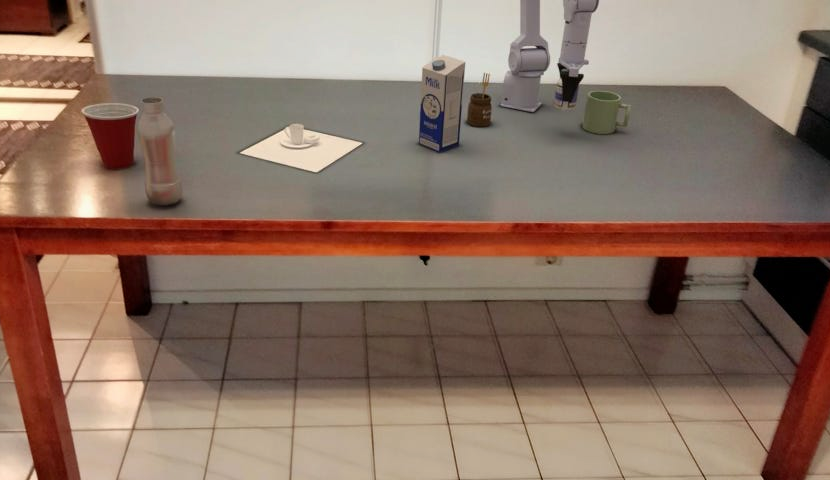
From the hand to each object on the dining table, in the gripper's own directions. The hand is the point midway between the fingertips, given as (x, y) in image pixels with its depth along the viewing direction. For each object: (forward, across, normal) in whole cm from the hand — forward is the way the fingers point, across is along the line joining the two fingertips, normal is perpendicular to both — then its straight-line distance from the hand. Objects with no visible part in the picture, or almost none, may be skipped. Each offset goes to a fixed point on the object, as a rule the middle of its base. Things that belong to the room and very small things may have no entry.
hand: (565, 97), depth 184 cm
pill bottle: (+3, 0, 0) cm, 3 cm away
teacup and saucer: (+10, -22, +60) cm, 65 cm away
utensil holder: (+10, +3, +20) cm, 23 cm away
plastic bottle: (+9, -54, +80) cm, 97 cm away
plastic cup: (+10, -38, +96) cm, 103 cm away
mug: (+9, +6, -12) cm, 16 cm away
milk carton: (+10, -14, +30) cm, 34 cm away
